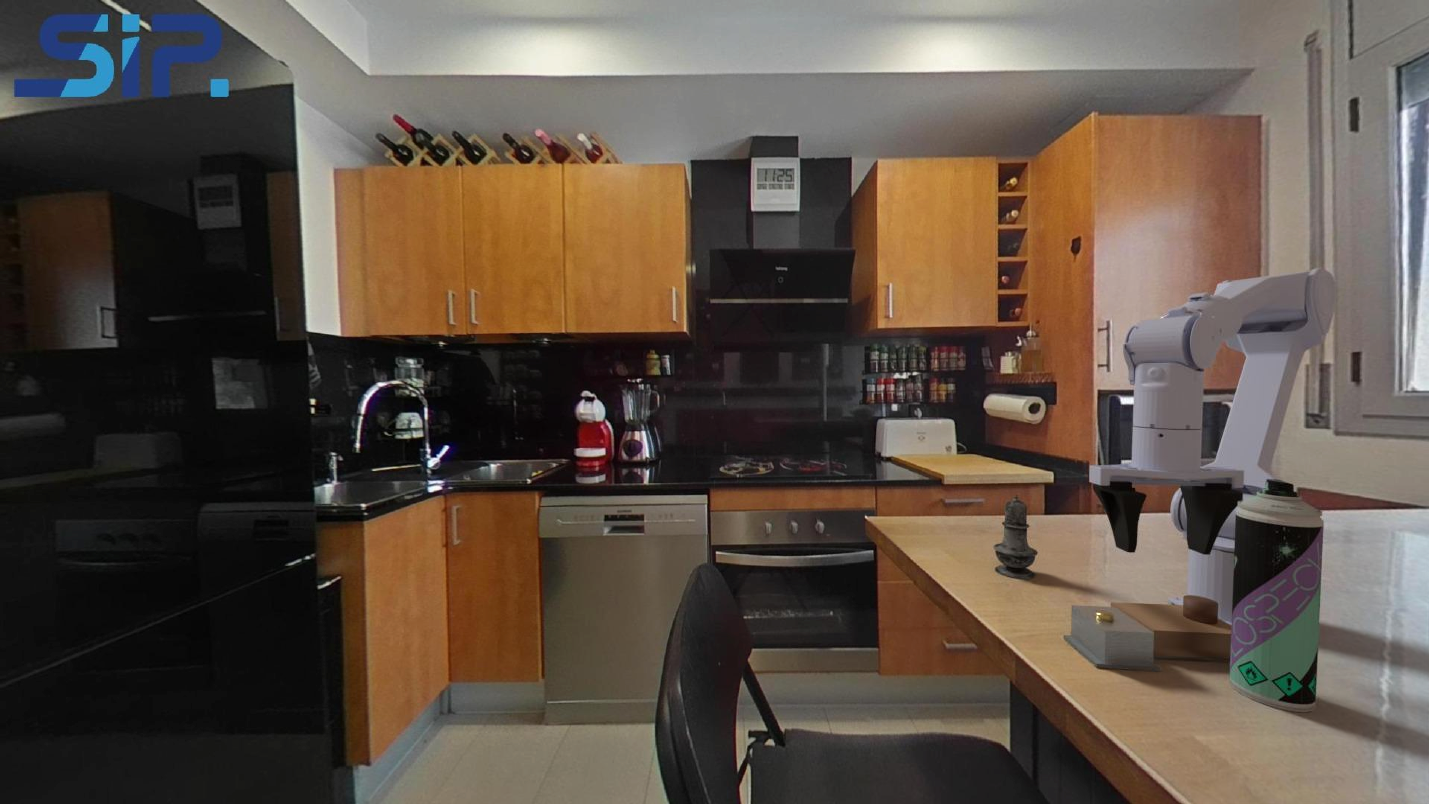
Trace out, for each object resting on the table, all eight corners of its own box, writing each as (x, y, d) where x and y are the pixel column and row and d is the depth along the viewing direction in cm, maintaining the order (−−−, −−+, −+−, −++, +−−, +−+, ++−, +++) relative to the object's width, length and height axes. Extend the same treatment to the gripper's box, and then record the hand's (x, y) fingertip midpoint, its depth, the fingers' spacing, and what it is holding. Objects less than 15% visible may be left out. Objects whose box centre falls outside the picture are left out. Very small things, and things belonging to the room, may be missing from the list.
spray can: (1213, 678, 51) (1220, 475, 50) (1263, 675, 51) (1271, 474, 51) (1278, 714, 46) (1287, 487, 45) (1334, 710, 46) (1344, 485, 45)
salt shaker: (1044, 581, 76) (1045, 499, 75) (1000, 578, 77) (1001, 497, 77) (1028, 567, 82) (1029, 491, 81) (987, 564, 83) (988, 489, 82)
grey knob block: (1114, 637, 58) (1115, 602, 58) (1152, 667, 52) (1154, 628, 52) (1070, 635, 59) (1071, 600, 59) (1104, 664, 53) (1105, 625, 53)
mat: (1120, 641, 58) (1120, 637, 58) (1160, 670, 52) (1160, 667, 52) (1063, 638, 59) (1063, 635, 59) (1096, 667, 53) (1096, 663, 53)
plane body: (1193, 630, 61) (1194, 588, 60) (1247, 663, 54) (1249, 615, 54) (1110, 627, 62) (1111, 585, 61) (1153, 658, 55) (1154, 611, 55)
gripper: (1206, 425, 60) (1201, 541, 61) (1074, 424, 61) (1070, 538, 62) (1265, 430, 53) (1259, 562, 54) (1115, 429, 54) (1111, 558, 55)
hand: (1161, 550), depth 57 cm, fingers open, 7 cm apart
